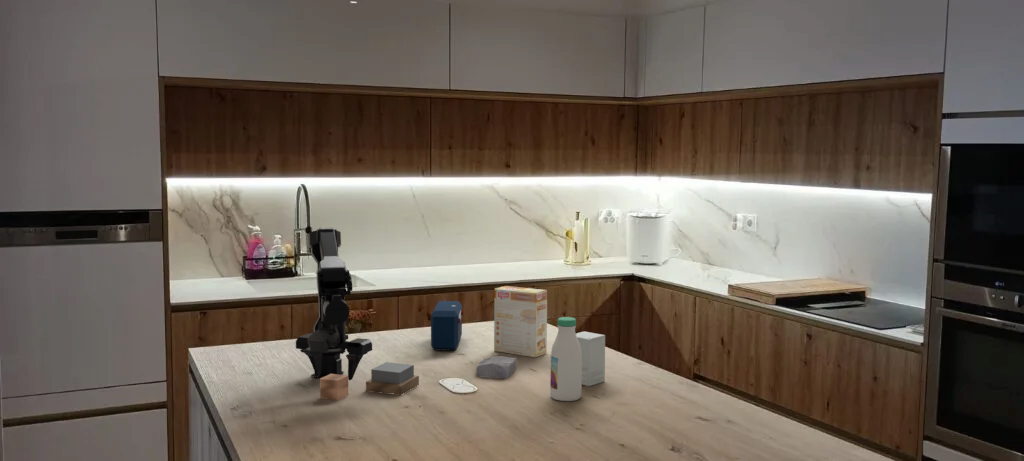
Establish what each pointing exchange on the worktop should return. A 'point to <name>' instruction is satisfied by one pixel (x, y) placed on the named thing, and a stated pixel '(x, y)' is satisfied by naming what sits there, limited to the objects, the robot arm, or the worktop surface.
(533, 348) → the coffeecake box
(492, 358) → the stone block
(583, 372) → the supplement box
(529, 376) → the worktop surface
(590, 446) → the worktop surface
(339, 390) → the terracotta cube
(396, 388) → the tower base block
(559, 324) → the milk bottle
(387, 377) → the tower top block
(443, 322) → the radio
